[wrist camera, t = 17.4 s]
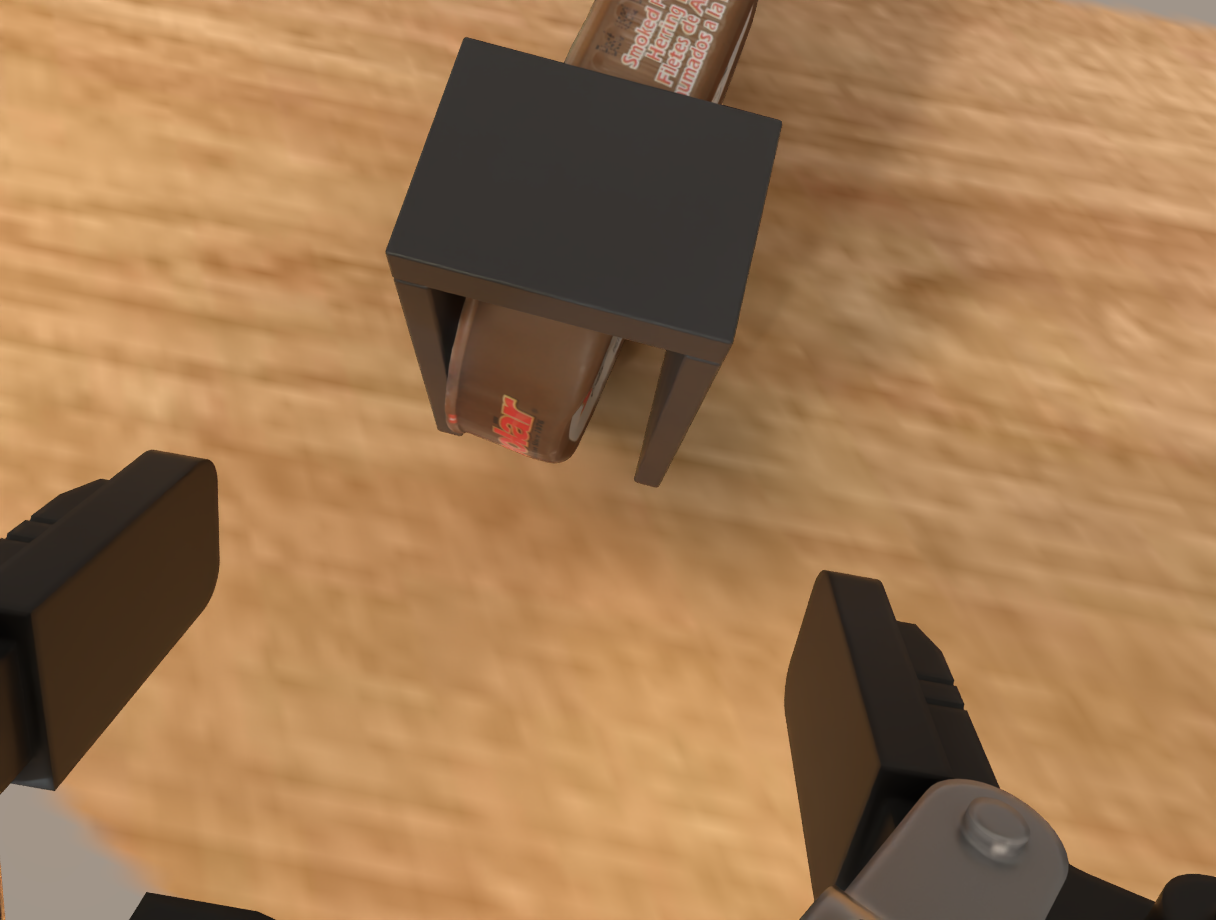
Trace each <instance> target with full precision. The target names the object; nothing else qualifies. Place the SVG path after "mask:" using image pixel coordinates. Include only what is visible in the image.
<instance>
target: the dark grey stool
mask: <svg viewBox="0 0 1216 920" xmlns="http://www.w3.org/2000/svg"><path fill="white" fill-rule="evenodd" d="M781 128H782V121H780V120H778V119H774V118H770V117H766V116H762V115H759V114H755V113H751V112H747V111H744V110H740V109H736V108H732V107H728V106H725V105H721V104H717V103H713V102H710V101H706V100H702V99H698V98H694V97H691V96H687V95H683V94H679V93H676V92H672V91H668V90H664V89H660V88H657V87H653V86H649V85H645V84H642V83H638V82H634V81H630V80H626V79H623V78H619V77H615V76H611V75H607V74H604V73H600V72H596V71H592V70H589V69H585V68H581V67H577V66H573V65H570V64H566V63H562V62H558V61H555V60H551V59H547V58H543V57H539V56H536V55H532V54H528V53H524V52H521V51H517V50H513V49H509V48H505V47H502V46H498V45H494V44H490V43H487V42H483V41H479V40H475V39H471V38H468V37H465V38H464V39H463V41H462V44H461V47H460V49H459V52H458V55H457V58H456V60H455V63H454V66H453V69H452V71H451V74H450V77H449V79H448V82H447V85H446V88H445V90H444V93H443V96H442V99H441V101H440V104H439V107H438V109H437V112H436V115H435V118H434V120H433V123H432V126H431V128H430V131H429V134H428V137H427V139H426V142H425V145H424V148H423V150H422V153H421V156H420V158H419V161H418V164H417V167H416V169H415V172H414V175H413V178H412V180H411V183H410V186H409V188H408V191H407V194H406V197H405V199H404V202H403V205H402V207H401V210H400V213H399V216H398V218H397V221H396V224H395V227H394V229H393V232H392V235H391V237H390V240H389V243H388V246H387V248H386V256H387V260H388V263H389V266H390V270H391V273H392V277H394V282H395V285H396V288H397V292H398V295H399V299H400V302H401V305H402V309H403V312H404V316H405V319H406V322H407V326H408V329H409V333H410V336H411V340H412V343H413V346H414V350H415V353H416V357H417V360H418V363H419V367H420V370H421V374H422V377H423V380H424V384H425V387H426V391H427V394H428V397H429V401H430V404H431V408H432V411H433V414H434V418H435V421H436V425H437V428H438V430H439V431H442V432H446V433H450V434H453V435H457V436H462V435H463V433H456V432H453V431H452V430H451V429H450V428H449V427H448V425H447V422H446V414H445V406H444V405H445V398H446V395H445V394H446V385H447V378H448V371H449V364H450V359H451V353H452V348H453V345H454V342H455V337H456V333H457V328H458V324H459V319H460V316H461V312H462V309H463V305H464V302H465V298H466V297H467V298H471V299H475V300H479V301H483V302H486V303H490V304H494V305H498V306H502V307H505V308H509V309H513V310H517V311H521V312H524V313H528V314H532V315H536V316H540V317H543V318H547V319H551V320H555V321H559V322H562V323H566V324H570V325H574V326H578V327H581V328H585V329H589V330H593V331H597V332H601V333H604V334H608V335H612V336H616V337H620V338H623V339H627V340H631V341H635V342H639V343H642V344H646V345H650V346H654V347H658V348H661V349H665V350H666V352H665V356H664V360H663V364H662V368H661V372H660V376H659V380H658V384H657V388H656V392H655V396H654V400H653V404H652V408H651V412H650V416H649V420H648V424H647V428H646V432H645V436H644V440H643V445H642V449H641V453H640V457H639V461H638V465H637V469H636V473H635V477H634V481H635V482H637V483H641V484H644V485H648V486H652V487H659V485H660V483H661V482H662V480H663V478H664V476H665V474H666V472H667V470H668V468H669V466H670V464H671V462H672V460H673V458H674V456H675V454H676V452H677V450H678V448H679V447H680V445H681V443H682V441H683V439H684V437H685V435H686V433H687V431H688V429H689V427H690V425H691V423H692V421H693V419H694V417H695V415H696V413H697V412H698V410H699V408H700V406H701V404H702V402H703V400H704V398H705V396H706V394H707V392H708V390H709V388H710V386H711V384H712V382H713V380H714V378H715V377H716V375H717V373H718V371H719V369H720V367H721V365H722V363H723V361H724V360H725V358H726V356H727V354H728V352H729V350H730V348H731V346H732V344H733V342H734V337H735V333H736V328H737V324H738V319H739V315H740V311H741V306H742V302H743V297H744V293H745V288H746V284H747V279H748V275H749V270H750V266H751V262H752V257H753V253H754V248H755V244H756V239H757V235H758V230H759V226H760V221H761V217H762V213H763V208H764V204H765V199H766V195H767V190H768V186H769V181H770V177H771V172H772V168H773V163H774V159H775V155H776V150H777V146H778V141H779V137H780V132H781Z"/></svg>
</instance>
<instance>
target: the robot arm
mask: <svg viewBox="0 0 1216 920" xmlns="http://www.w3.org/2000/svg"><path fill="white" fill-rule="evenodd" d="M219 561H220V557H219V518H218V480H217V472H216V468H215V466H214V464H213V463H212V462H211V461H210V460H208V459H203V458H197V457H191V456H186V455H180V454H174V453H169V452H163V451H157V450H149V451H146V452H145V453H143V454H142V455H141V456H139V457H138V458H137V459H136V460H134V461H133V462H132V463H130V464H129V465H128V466H127V467H125V468H124V469H123V470H122V471H120V472H119V473H118V474H116V475H115V476H114V477H113V478H111V479H110V480H105V479H99V480H96V481H93V482H91V483H88V484H86V485H83V486H80V487H78V488H75V489H73V490H70V491H67V492H65V493H62V494H60V495H58V496H57V497H56V498H54V499H53V500H52V501H50V502H49V503H48V504H46V505H45V506H44V507H42V508H41V509H40V510H38V511H37V512H36V513H34V514H33V515H32V516H31V519H30V521H28V520H25V521H24V522H22V523H21V524H19V525H18V526H17V527H15V528H14V529H13V530H11V531H10V532H9V533H7V538H6V539H3V538H1V539H0V794H1V793H2V792H3V791H4V790H5V789H6V788H7V787H8V785H9V784H10V783H12V784H17V785H23V786H29V787H34V788H40V789H46V790H52V791H55V790H56V789H57V788H58V786H59V785H60V784H61V783H62V781H63V780H64V779H65V778H66V777H67V775H68V774H69V773H70V772H71V770H72V769H73V768H74V767H75V766H76V764H77V763H78V762H79V761H80V760H81V758H82V757H83V756H84V755H85V753H86V752H87V751H88V750H89V749H90V747H91V746H92V745H93V744H94V743H95V741H96V740H97V739H98V738H99V736H100V735H101V734H102V733H103V732H104V730H105V729H106V728H107V727H108V726H109V724H110V723H111V722H112V721H113V719H114V718H115V717H116V716H117V715H118V713H119V712H120V711H121V710H122V709H123V707H124V706H125V705H126V704H127V702H128V701H129V700H130V699H131V698H132V696H133V695H134V694H135V693H136V692H137V690H138V689H139V688H140V687H141V685H142V684H143V683H144V682H145V681H146V679H147V678H148V677H149V676H150V674H151V673H152V672H153V671H154V670H155V668H156V667H157V666H158V665H159V664H160V662H161V661H162V660H163V659H164V657H165V656H166V655H167V654H168V653H169V651H170V650H171V649H172V648H173V647H174V645H175V644H176V643H177V642H178V640H179V639H180V638H181V637H182V636H183V634H184V633H185V632H186V631H187V630H188V628H189V627H190V626H191V625H192V623H193V622H194V621H195V620H196V619H197V617H198V616H199V615H200V614H201V613H202V611H203V610H204V609H205V607H206V606H207V604H208V602H209V601H210V599H211V596H212V594H213V591H214V589H215V586H216V582H217V578H218V573H219ZM953 683H954V679H953V677H952V674H951V672H950V670H949V667H948V665H947V663H946V660H945V658H944V656H943V653H942V651H941V650H940V649H939V648H938V647H937V646H936V645H935V644H934V643H933V642H932V641H931V640H930V639H929V638H928V637H927V636H926V635H925V634H924V633H923V632H922V631H921V630H920V629H919V628H918V626H917V625H916V624H911V623H905V622H899V621H896V619H895V616H894V613H893V611H892V608H891V605H890V602H889V600H888V597H887V594H886V592H885V589H884V586H883V584H882V582H881V581H880V580H878V579H872V578H866V577H861V576H855V575H850V574H844V573H838V572H833V571H827V570H822V571H821V572H820V573H819V575H818V577H817V579H816V581H815V583H814V586H813V589H812V593H811V596H810V599H809V602H808V606H807V609H806V612H805V615H804V618H803V622H802V625H801V628H800V631H799V635H798V638H797V641H796V644H795V648H794V651H793V654H792V657H791V661H790V664H789V668H788V672H787V678H786V685H785V697H784V707H785V717H786V723H787V729H788V736H789V742H790V749H791V755H792V761H793V768H794V774H795V780H796V787H797V793H798V800H799V806H800V812H801V819H802V825H803V832H804V838H805V844H806V851H807V857H808V864H809V870H810V876H811V883H812V889H813V895H814V903H813V904H812V905H811V906H810V908H809V909H808V910H807V911H806V912H805V914H804V915H803V916H802V917H801V918H800V920H1216V877H1213V876H1208V875H1201V874H1185V875H1180V876H1177V877H1175V878H1173V879H1171V880H1170V881H1169V882H1168V883H1167V884H1166V885H1165V887H1164V889H1163V890H1162V892H1161V894H1160V895H1159V897H1158V899H1157V900H1156V902H1154V901H1151V900H1149V899H1147V898H1144V897H1142V896H1140V895H1137V894H1135V893H1132V892H1130V891H1128V890H1125V889H1123V888H1121V887H1118V886H1116V885H1113V884H1111V883H1109V882H1106V881H1104V880H1101V879H1099V878H1097V877H1094V876H1092V875H1090V874H1088V873H1086V872H1083V871H1081V870H1079V869H1077V868H1075V867H1073V866H1072V865H1070V864H1069V862H1068V858H1067V853H1066V851H1065V848H1064V846H1063V844H1062V842H1061V840H1060V838H1059V837H1058V835H1057V834H1056V832H1055V831H1054V830H1053V828H1052V827H1051V826H1050V825H1049V824H1048V822H1047V821H1046V820H1045V819H1044V818H1043V817H1041V816H1040V815H1039V814H1038V813H1037V812H1036V811H1035V810H1034V809H1032V808H1031V807H1030V806H1029V805H1027V804H1026V803H1024V802H1023V801H1021V800H1020V799H1018V798H1017V797H1015V796H1013V795H1011V794H1009V793H1008V792H1006V791H1004V790H1001V789H1000V787H999V785H998V783H997V780H996V778H995V776H994V773H993V771H992V768H991V766H990V764H989V761H988V759H987V757H986V754H985V752H984V750H983V747H982V745H981V743H980V740H979V738H978V736H977V733H976V731H975V729H974V726H973V724H972V721H971V719H970V717H969V714H968V712H967V710H964V703H963V700H962V698H961V696H960V693H959V691H958V689H957V686H954V685H953ZM0 920H5V913H4V900H3V888H2V877H1V865H0ZM129 920H275V919H273V918H271V917H269V916H266V915H264V914H262V913H260V912H258V911H252V910H246V909H240V908H235V907H229V906H223V905H218V904H212V903H206V902H200V901H195V900H189V899H183V898H177V897H172V896H166V895H160V894H154V893H149V892H146V894H145V895H144V897H143V898H142V900H141V902H140V904H139V905H138V907H137V908H136V910H135V912H134V913H133V915H132V916H131V918H130V919H129Z"/></svg>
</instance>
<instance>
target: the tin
mask: <svg viewBox="0 0 1216 920" xmlns="http://www.w3.org/2000/svg"><path fill="white" fill-rule="evenodd" d="M757 2H758V0H595V1H594V3H593V5H592V7H591V9H590V12H589V14H588V16H587V18H586V20H585V22H584V23H583V25H582V27H581V30H580V31H579V33H578V35H577V37H576V39H575V40H574V42H573V44H572V46H571V48H570V50H569V53H568V55H567V57H566V59H565V61H564V63H566V64H570V65H573V66H577V67H581V68H585V69H589V70H592V71H596V72H600V73H604V74H607V75H611V76H615V77H619V78H623V79H626V80H630V81H634V82H638V83H642V84H645V85H649V86H653V87H657V88H660V89H664V90H668V91H672V92H676V93H679V94H683V95H687V96H691V97H694V98H698V99H702V100H706V101H710V102H713V103H717V104H722V101H723V99H724V96H725V94H726V91H727V89H728V86H729V83H730V81H731V78H732V76H733V73H734V71H735V68H736V65H737V63H738V60H739V57H740V55H741V52H742V49H743V47H744V44H745V41H746V38H747V36H748V33H749V30H750V28H751V25H752V22H753V18H754V15H755V11H756V7H757ZM624 340H625V339H623V338H620V337H616V336H612V335H608V334H604V333H601V332H597V331H593V330H589V329H585V328H581V327H578V326H574V325H570V324H566V323H562V322H559V321H555V320H551V319H547V318H543V317H540V316H536V315H532V314H528V313H524V312H521V311H517V310H513V309H509V308H505V307H502V306H498V305H494V304H490V303H486V302H483V301H479V300H475V299H471V298H467V297H466V298H465V302H464V305H463V309H462V312H461V316H460V319H459V324H458V328H457V333H456V337H455V342H454V345H453V348H452V353H451V359H450V364H449V371H448V378H447V385H446V394H445V395H446V398H445V405H444V406H445V414H446V422H447V425H448V427H449V428H450V429H451V430H452V431H453V432H456V433H466V432H467V433H471V434H473V435H476V436H478V437H481V438H483V439H486V440H488V441H491V442H493V443H496V444H498V445H501V446H503V447H506V448H508V449H510V450H513V451H515V452H517V453H520V454H523V455H525V456H528V457H531V458H534V459H537V460H541V461H545V462H549V463H560V462H563V461H565V460H567V459H569V458H570V457H571V456H572V454H573V453H574V452H575V450H576V448H577V447H578V445H579V442H580V440H581V438H582V436H583V434H584V432H585V430H586V427H587V425H588V423H589V421H590V419H591V417H592V415H593V412H594V410H595V408H596V405H597V403H598V401H599V398H600V396H601V393H602V391H603V389H604V386H605V384H606V382H607V380H608V377H609V375H610V373H611V370H612V368H613V366H614V363H615V361H616V359H617V356H618V354H619V352H620V349H621V347H622V344H623V342H624Z"/></svg>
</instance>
